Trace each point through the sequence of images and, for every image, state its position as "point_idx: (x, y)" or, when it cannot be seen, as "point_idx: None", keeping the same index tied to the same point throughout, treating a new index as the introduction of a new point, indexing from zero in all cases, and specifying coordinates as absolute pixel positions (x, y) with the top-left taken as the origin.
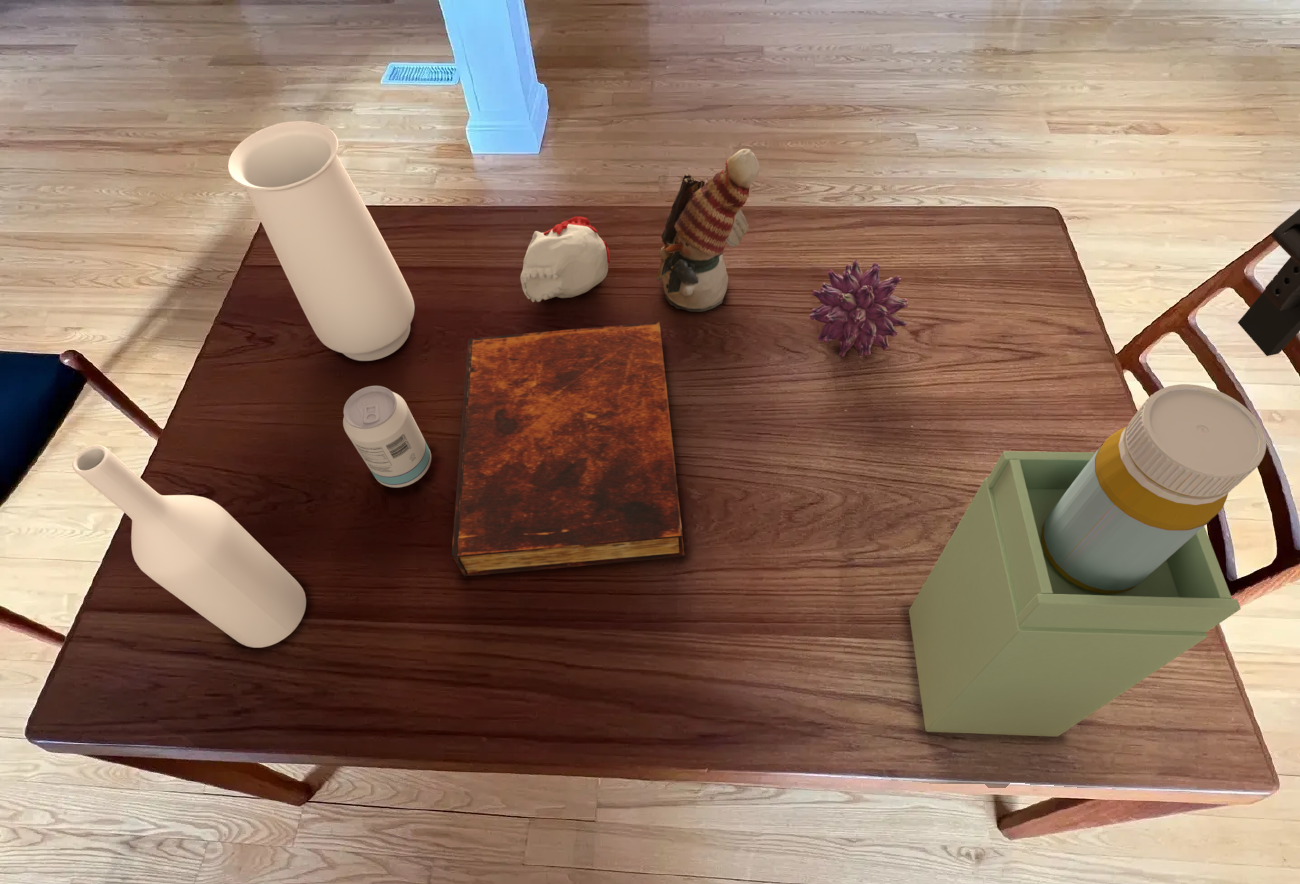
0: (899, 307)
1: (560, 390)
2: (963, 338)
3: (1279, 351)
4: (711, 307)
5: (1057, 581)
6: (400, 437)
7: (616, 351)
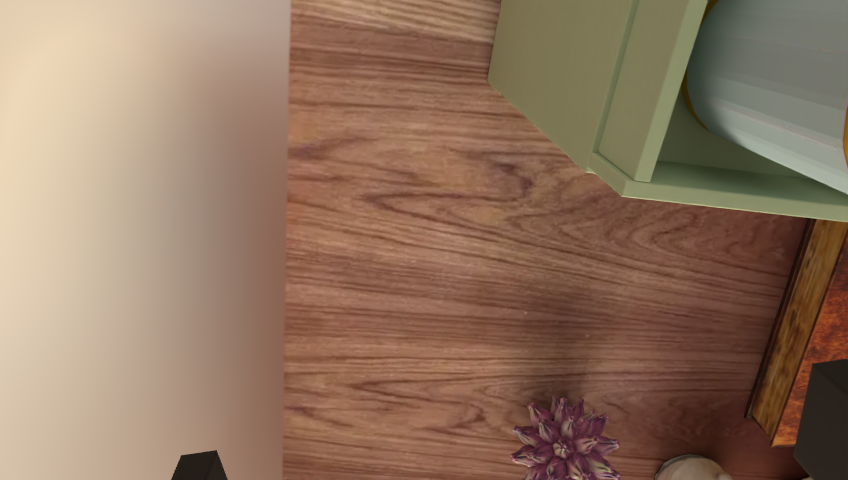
0: (536, 452)
1: None
2: (430, 409)
3: (826, 369)
4: (679, 458)
5: None
6: None
7: None
